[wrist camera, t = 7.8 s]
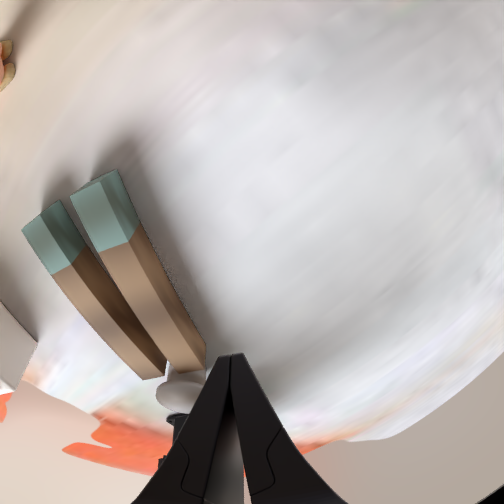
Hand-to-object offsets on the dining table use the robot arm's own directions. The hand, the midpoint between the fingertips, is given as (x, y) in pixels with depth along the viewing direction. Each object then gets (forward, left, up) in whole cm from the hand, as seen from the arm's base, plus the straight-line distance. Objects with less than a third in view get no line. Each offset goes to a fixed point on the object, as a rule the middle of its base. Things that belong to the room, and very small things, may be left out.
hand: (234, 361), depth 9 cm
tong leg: (-1, +7, -11) cm, 14 cm away
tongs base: (-3, +10, -12) cm, 16 cm away
